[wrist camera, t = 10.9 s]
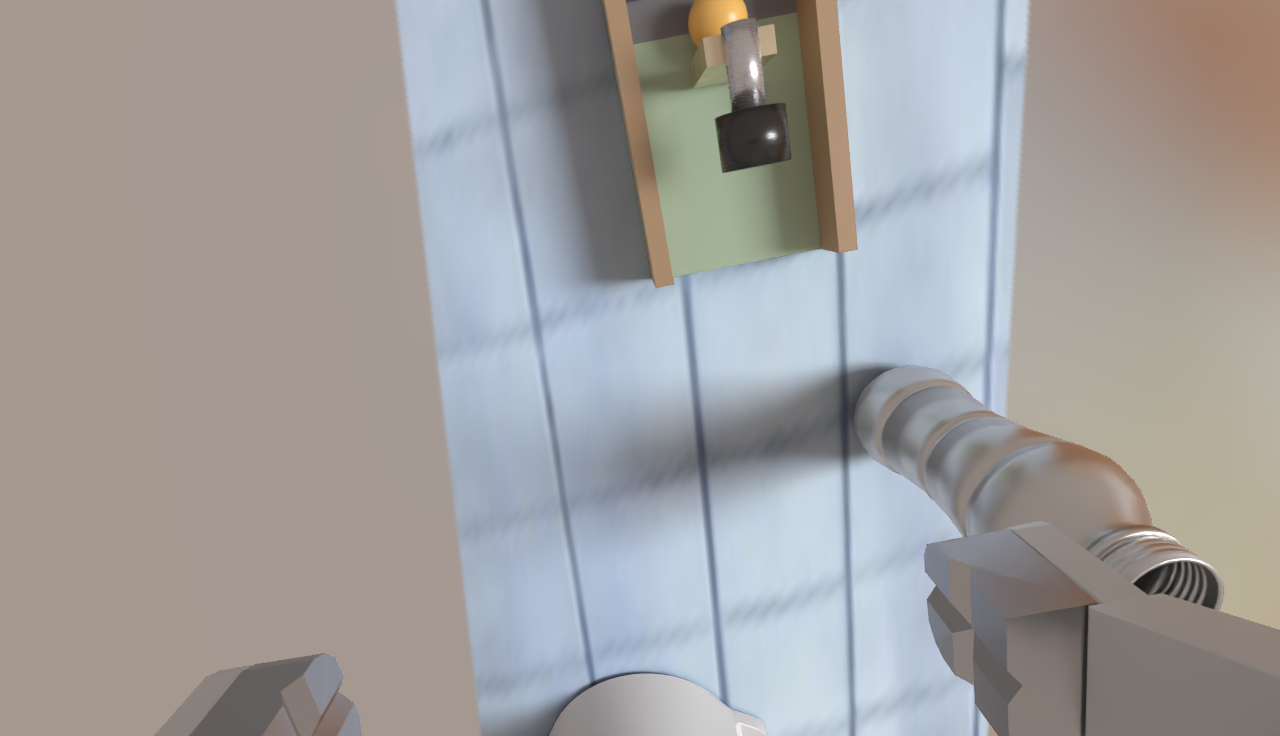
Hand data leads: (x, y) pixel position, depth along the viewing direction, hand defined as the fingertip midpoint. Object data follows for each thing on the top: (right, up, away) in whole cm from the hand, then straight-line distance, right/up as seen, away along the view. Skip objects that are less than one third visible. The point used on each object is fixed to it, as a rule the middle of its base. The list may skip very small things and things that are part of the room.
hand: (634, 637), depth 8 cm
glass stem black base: (+5, +17, +24) cm, 30 cm away
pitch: (+5, +18, +26) cm, 31 cm away
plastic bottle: (+17, +1, +31) cm, 35 cm away
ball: (+4, +21, +22) cm, 31 cm away
